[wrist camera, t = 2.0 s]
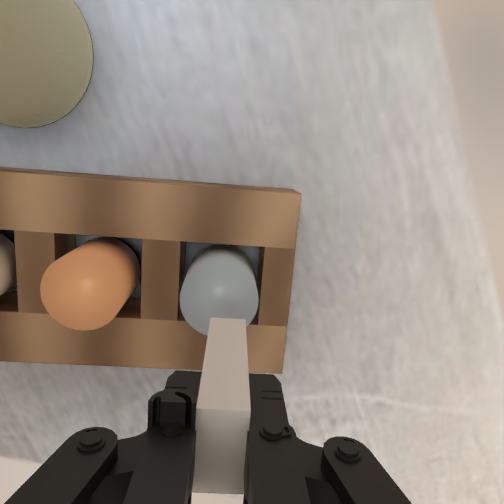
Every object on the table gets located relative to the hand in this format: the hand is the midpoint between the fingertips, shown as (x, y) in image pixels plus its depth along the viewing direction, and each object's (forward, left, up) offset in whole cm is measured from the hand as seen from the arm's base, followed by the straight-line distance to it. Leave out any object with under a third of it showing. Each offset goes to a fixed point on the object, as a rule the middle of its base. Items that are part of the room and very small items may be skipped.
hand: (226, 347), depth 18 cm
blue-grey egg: (0, 0, -10) cm, 10 cm away
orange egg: (-8, 0, -10) cm, 13 cm away
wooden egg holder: (-8, 0, -12) cm, 14 cm away
